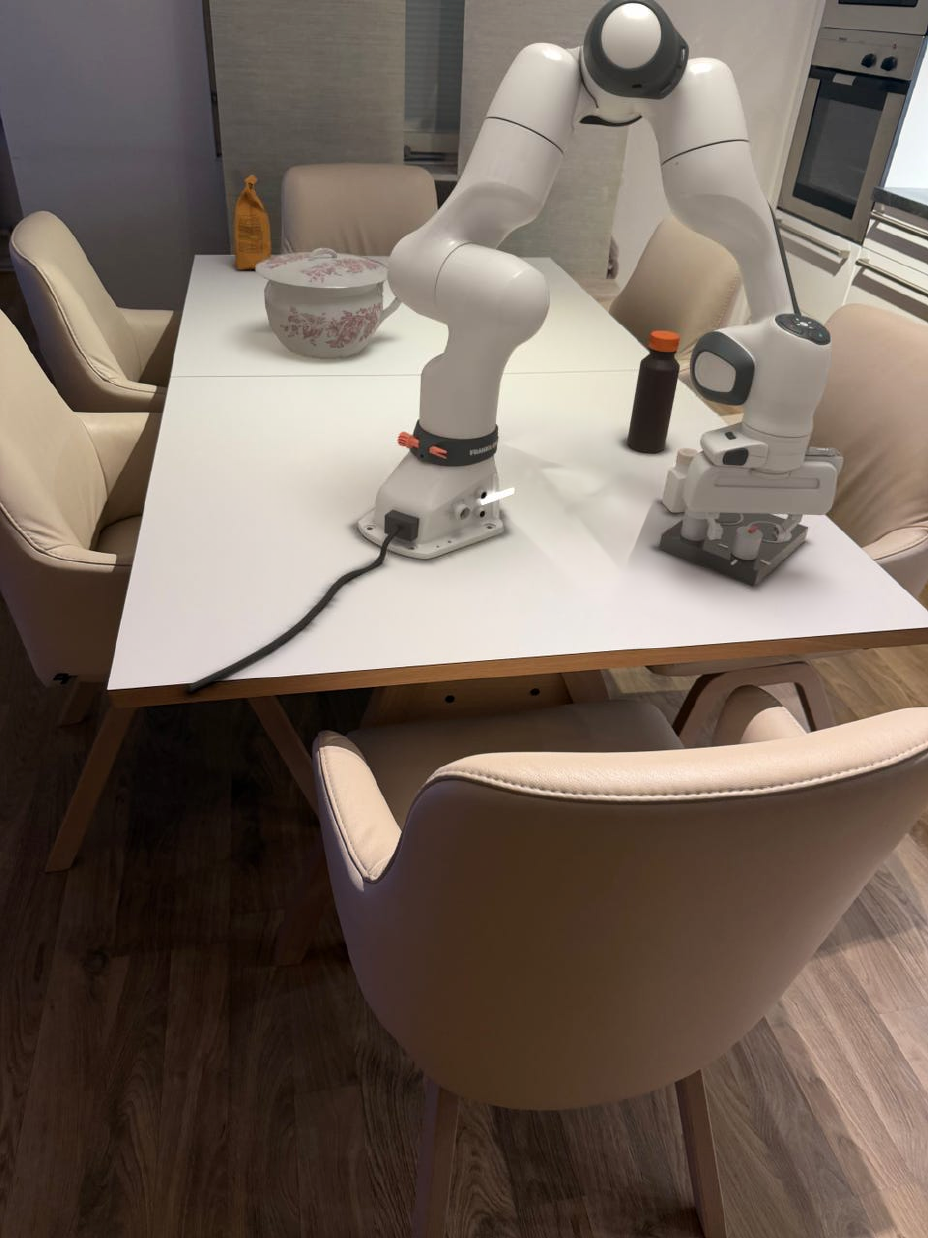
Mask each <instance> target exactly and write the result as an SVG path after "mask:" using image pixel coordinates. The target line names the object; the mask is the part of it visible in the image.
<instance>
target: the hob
mask: <svg viewBox="0 0 928 1238" xmlns="http://www.w3.org/2000/svg"><path fill="white" fill-rule="evenodd" d="M741 514H742V515H743V517H744V519H743V521H742V522H741V523H739V524H736V525H722V524H720V525H721V527H722V528H723V534H722V535H721V536H722V538H721V540H710V539H709V538H708V535H707V533H706V537H705V539H704V540H701V541H693V540H689V539H686V538H684V537H683V536H682V535H681V528H682V524H683V519H684V518H683V519H680V521H678V522H676V523H675V524H673V526H671V527H670V528H668V529H667V530H665V531H663V532H662V533H661V537H660V541H659V545H658V549H659V550H661V551H664V552H667V553H668V554H670V555H675V556H676V557H679V558H681V559H684V560H686V561H689V562H692V563H694V564H696V565H699V566H701V567H704V568H706V569H709V570H712V571H713V572H716V573H719V574H721V575H723V576H726V577H729V578H732V579H733V580H736V581H739V582H742V583H743V584H746V585H748V586H751V587H755V586H757V585H758V584H759V583H760V582H761V581H762V580H763V579H764V578H765V577H766V576H768V575H769V574H770V573H771V572H772V571H773V570H774V569H775V568H777V567H778V566H779V565H780V564H781V563H783V562H784V561H785V560H786V559H787V558H788V557H789V556H790V555H791V554H792V553H794V552H795V551H796V550H797V549H798V548H799V547H800V546H802V544H804V543H805V540H806V537H807V534H808V531H809V527H808V526H806V525H803V524H800V523H799V524H798V525H797V526H796V527H795V528H794V529H792V530H791V531H790V533H791V539H790V540H789V541H787V542H783V543H771V542H765V541H762V540H761V544H760V548H759V552H758V555H757V558H756V559H754V560H742V559H739V558H736V557H735V556H733V555H732V553H731V550H732V546H733V542H734V538H735V534H736V530H737V529H738V528H739V527H743V526H748V525H749V524H751V523H753V522H771V523H775V524H778V525H781V524H782V523H783V522H784V520H785V519H786V518H784V517H780V516H778V515H776V514H758V513H741ZM716 524H717V523H716ZM708 528H709V525H708ZM707 532H708V529H707Z"/></svg>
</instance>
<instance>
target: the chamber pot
mask: <svg viewBox="0 0 928 1238" xmlns="http://www.w3.org/2000/svg"><path fill="white" fill-rule="evenodd" d="M255 267H256V269H255V273H256V274H258V275H259V276H261V278H263V279H265V280H268V281H267V282H266V285H265V286H264V289H263V296H264V298H263V299H264V308H265V312H266V316H267V320H268V323H269V324H268V325H269V326H270V328H271V329H272V331H273V333H274V334H275V336H276V337H277V339H278V340H279V342H280V343H281V344H282V345H283V347H285V348H286V349H287V350H288V351H290V352H292V353H295V354H298V355H300V356H302V357H303V356H304V357H307V358H312V359H319V360H324V359H326V360H331V359H343V358H345V357H350V356H353V355H356V354H358V353H360V352H362V351H363V350H365V348H367V346H368V344H369V343H370V342H371V340H372V338H373V336H374V335H375V334H376V332H377V330H378V328H379V327H380V325H381V324H382V323H384V321H385V320H386V319H387V318H389V317H390V316H391V315H393V313H395V311H397V310H398V309H399V307H400V306H401V305H402V304H403V302H401V301H400V300H399V299H398V298H397V297H396V296H395V297H394V299H393V300H392V302H391V303H390V304H389V305H388V306H387V307H386V308H384V295H383V293H384V283H385V281H387V280H388V278H387V268H388V265H385V264H383V263H382V262H380V261H378V260H374V259H371V258H369V257H365V256H363V255H358V254H353V253H348V252H338V251H335V250H334V249H332V248H328V247H319V248H316V249H314V250H304V251H292V252H285V253H280V254H277V255H271V257H269V258H266V259H263V260H262V261H260V262H259V263H258V264H257V265H256V266H255Z"/></svg>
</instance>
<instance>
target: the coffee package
mask: <svg viewBox="0 0 928 1238" xmlns="http://www.w3.org/2000/svg"><path fill="white" fill-rule="evenodd" d="M243 180H244V183H245V187H244V189H243V190H242V191H241V194H240V195H239V197H238V199H237V202H236V205H235V213H234V220H233V221H234V222H233V248H234V250H233V251H234V262H235V266H236V269H237V270H238V271H245V270H256V267H255V266H256V265H257V264H258V263H259V262H260V261H262V260H263V259H266V258H269V257H272V237H271V225H270V219H269V216H268V213H267V210H266V208H265V206H264V204H263V202H262V201H261V200H260V198H259V196H258V195H257V193H256V190H255V184H256V183H257V182H258V178H257V177H256V176H255V174H250V175H249V176H248V177H246V178H245V179H243Z"/></svg>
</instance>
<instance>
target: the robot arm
mask: <svg viewBox="0 0 928 1238" xmlns="http://www.w3.org/2000/svg"><path fill="white" fill-rule="evenodd" d="M689 57H690V47H689V43H688V42H687V41H686V39H685V38H684V37H683V36H682V35H681V33H680V32H679V31H678V30H677V28H676V27H675V26H674V24H673V22H672V20H671V19H670V17H669V15H668V14H667V12H666V11H665V9H664V8H663V7H662V6H661V5H660V4H659V3H658V2H657V1H655V0H609V1H608V2H606V3H605V4H604V5H603V6H602V7H601V8H600V9H599V10H598V11H597V12H596V13H595V15H594V16H593V17H592V19H591V21H590V23H589V24H588V26H587V28H586V31H585V34H584V39H583V44H582V45H581V46H580V45H578V46H577V47H574V48H564V47H561V46H559V45H557V44H554V43H549V42H536V43H535V42H534V43H531V44H529V45H527V46H525V47H523V49H521V50H520V51H519V52H518V54H517V55H516V57H515V58H514V60H513V61H512V63H511V65H510V66H509V68H508V70H507V72H506V73H505V75H504V77H503V79H502V81H501V83H500V85H499V86H498V88H497V90H496V92H495V95H494V96H493V98H492V100H491V104H490V106H489V108H488V110H487V113H486V115H485V117H484V120H483V123H482V126H481V128H480V130H479V133H478V136H477V139H476V141H475V143H474V146H473V148H472V150H471V153H470V155H469V158H468V160H467V162H466V165H465V168H464V170H463V172H462V173H461V176H460V178H459V180H458V181H457V184H456V185H455V187H454V189H453V190H452V191H451V192H450V194H449V196H448V197H447V198H446V200H445V201H444V202H443V204H442V205H441V206H440V207H439V208H438V210H437V211H436V212H435V213H434V214H433V216H432V217H430V218H429V220H427V221H426V223H424V224H423V225H422V226H420V227H419V228H418V229H416V230H414V231H412V232H410V233H408V234H406V235H405V236H403V237H402V238H401V239H400V240H398V242H397V243H396V244H395V245H394V247H393V249H392V251H391V253H390V255H389V259H388V262H387V267H388V268H387V278H388V279H387V283H388V287H389V288H390V291H391V293H392V294H393V295H394V296H395V298H396V297H397V298H398V299H399V300H400V301H401V302H402V304H404V305H405V306H406V307H408V308H409V309H410V310H411V311H413V312H415V313H416V314H418V315H420V316H422V317H425V318H427V319H430V320H433V321H435V322H438V323H441V324H443V325H446V326H447V331H448V335H447V336H448V337H447V341H446V345H445V348H444V350H443V352H442V353H440V354H437V355H436V356H434V357H432V358H431V359H430V360H429V361H427V363H426V364H425V365H423V368H422V370H421V373H420V384H419V385H420V386H419V387H420V389H419V392H420V393H419V412H418V419H417V421H415V422H416V423H415V426H414V428H413V432H412V434H410V433H408V432H406V431H401V432H400V433H398V435H399V436H397V440H396V441H397V444H398V445H399V446H401V447H406V449H408V452H407V453H406V455H405V456H404V457H403V458H402V460H400V462H399V463H398V464H397V465H396V467H395V468H394V469H393V471H392V472H391V473H390V474H389V475H388V476H387V478H386V479H385V481H383V483H382V484H381V485H380V486H379V488H378V490H377V492H376V497H375V504H374V509H373V510H371V511H370V512H368V513H367V514H366V515H364V516H363V517H361V518H360V519H359V520H358V521H357V529H358V531H359V532H360V534H361V535H363V536H364V537H365V538H366V539H367V540H368V541H370V542H372V543H374V544H375V545H378V546H380V551H379V555H378V557H377V558H376V559H375V560H374V561H373V562H372V563H370V565H367V566H365V567H363V568H359V569H356V570H352V571H349V572H347V573H346V574H344V575H342V576H341V577H339V578H338V579H337V580H336V581H335V582H334V583H333V584H332V585H331V586H330V588H329V589H328V590H327V591H326V593H325V594H324V596H323V597H322V598H321V599H320V600H319V601H318V602H317V603H316V604H315V605H314V607H312V609H311V610H309V611H308V613H306V615H304V616H303V617H302V618H301V619H300V620H299V621H298V622H297V623H295V624H294V625H293V626H292V627H290V628H289V629H288V630H287V631H286V632H284V633H283V634H282V635H280V636H279V637H277V638H275V639H274V640H272V641H271V642H270V643H268V644H266V645H265V646H263V647H261V648H259V649H258V650H256V651H254V652H252V653H251V654H249V655H246V656H245V657H244V658H242V659H240V660H238V661H235V662H234V663H232V664H230V665H228V666H226V667H224V668H222V669H219V670H217V671H215V672H213V673H211V674H209V675H207V676H205V677H202V678H200V679H198V680H197V681H194V682H192V683H190V684H188V685H187V689H188V691H189V692H194V691H196V690H198V689H200V688H203V687H204V686H206V685H208V684H211V683H213V682H215V681H216V680H219V679H221V678H223V677H225V676H227V675H229V674H231V673H233V672H235V671H238V670H239V669H241V668H243V667H245V666H246V665H248V664H250V663H252V662H254V661H256V660H257V659H259V658H261V657H263V656H264V655H266V654H268V653H270V652H272V651H273V650H274V649H276V648H277V647H279V646H280V645H282V644H283V643H285V642H286V641H288V640H289V639H291V637H293V636H294V635H296V633H298V632H299V631H301V629H302V628H304V627H305V626H306V625H307V624H308V623H309V622H310V621H311V620H312V619H313V618H314V617H315V616H316V615H317V614H318V613H319V612H320V611H321V610H322V609H323V608H324V607H325V605H326V604H327V603H328V602H329V601H330V599H331V598H332V597H333V595H334V594H335V593H336V592H337V590H338V589H339V588H341V586H342V585H343V584H345V583H346V582H347V581H349V580H351V579H352V578H355V577H359V576H362V575H364V574H366V573H369V572H370V571H372V570H374V569H376V568H378V567H379V566H380V565H381V564H382V563H383V562H384V560H385V558H386V555H387V550H388V551H390V552H393V553H396V554H398V555H402V556H406V557H408V558H412V559H413V558H415V559H419V560H431V559H434V558H436V557H439V556H442V555H446V554H447V553H450V552H453V551H457V550H459V549H461V548H465V547H468V546H470V545H473V544H476V543H479V542H481V541H484V540H486V539H489V538H492V537H495V536H497V535H501V534H503V533H504V523H503V521H502V519H501V518H500V499H502V498H505V497H507V496H511V495H513V494H514V493H515V488H514V487H510V488H508V489H505V490H502V491H500V479H499V474H498V470H497V466H496V460H495V455H496V453H497V451H498V443H499V439H500V438H499V425H498V424H497V416H498V415H497V414H498V406H499V397H500V389H501V383H502V380H503V379H502V378H503V375H504V371H505V370H506V369H505V368H506V366H507V364H508V362H509V360H510V358H511V356H512V355H513V353H514V352H515V351H516V349H518V348H519V347H520V346H521V345H523V344H525V343H526V342H528V341H529V340H531V339H532V338H533V337H534V336H535V335H536V334H538V332H539V331H540V329H541V328H542V327H543V325H544V323H545V321H546V320H547V317H548V314H549V310H550V303H551V293H550V286H549V283H548V280H547V278H546V277H545V276H544V274H543V273H542V272H541V271H540V270H538V269H537V268H536V267H534V266H533V265H531V264H530V263H528V262H527V261H525V260H523V259H522V258H520V257H518V256H517V255H514V254H512V253H509V252H505V251H502V250H499V249H497V248H498V247H499V246H500V245H501V243H502V242H503V241H504V240H505V239H506V237H508V236H509V235H510V234H511V233H512V232H514V231H515V230H517V229H518V228H521V227H523V226H525V225H527V224H530V223H531V222H533V221H534V220H536V219H537V217H538V216H540V214H541V212H542V210H543V208H544V206H545V204H546V201H547V199H548V196H549V194H550V191H551V189H552V187H553V183H554V181H555V179H556V177H557V174H558V171H559V169H560V166H561V164H562V162H563V159H564V156H565V154H566V152H567V149H568V146H569V144H570V141H571V138H572V136H573V134H574V132H575V130H576V129H577V126H578V124H582V125H594V126H603V127H608V128H622V127H627V126H630V125H633V124H635V123H637V122H638V121H640V120H641V119H642V118H643V119H644V120H646V122H647V123H648V124H649V126H650V127H651V129H652V131H653V134H654V136H655V140H656V142H657V149H658V158H659V165H660V173H661V180H662V186H663V191H664V192H663V193H664V196H665V199H666V202H667V205H668V208H669V210H670V212H671V214H672V215H673V217H674V218H675V219H676V220H677V221H678V223H680V224H681V225H682V226H684V227H685V228H687V229H688V230H689V231H692V232H694V233H696V234H699V235H701V236H703V237H706V238H708V239H710V240H711V241H713V242H715V243H717V244H718V245H720V246H721V247H722V248H724V249H725V250H726V251H727V252H728V253H729V254H730V255H731V256H732V257H733V259H734V261H735V262H736V264H737V267H738V270H739V274H740V277H741V281H742V285H743V289H744V293H745V297H746V302H747V306H748V309H749V313H750V318H751V321H750V323H749V324H740V325H732V326H727V327H721V328H717V329H715V330H712V331H711V330H710V331H708V332H706V333H704V334H703V335H702V336H701V337H700V338H699V339H698V340H697V342H696V343H695V345H694V347H693V349H692V352H691V355H690V359H689V376H690V379H691V382H692V385H693V387H694V388H695V390H696V391H697V393H698V394H699V395H700V396H701V397H702V398H704V399H705V400H707V401H709V402H712V403H716V404H720V405H725V406H732V407H737V406H738V407H740V408H741V409H742V410H743V414H742V419H741V421H739V422H736V423H733V424H730V425H726V426H723V427H720V428H716V429H712V430H708V431H705V432H703V433H702V435H701V436H700V440H699V445H700V447H701V449H702V450H701V451H698V454H696V455H695V457H694V458H693V460H692V462H691V464H690V466H689V469H688V472H687V475H686V478H685V482H684V485H683V490H682V498H683V501H684V502H685V504H686V505H687V507H688V508H689V509H690V510H691V511H692V512H704V513H705V515H706V518H707V520H708V523H709V528H708V532H707V535H708V538H709V539H710V540H721V538H722V536H721V535H722V534H723V528H722V527H721V525H720V524H716V522H715V520H714V518H715V519H718V518H719V515H720V513H758V514H772V515H787V517H786V518H784V519H785V520H784V522H783V523H782V524H781V525H775V527H774V532H773V538H774V539H775V541H787V539H788V536H789V532H790V531H791V530H792V529H794V528H795V527H796V526H797V525H798V524H800V523H801V522H802V519H803V516H825V515H826V514H827V513H828V512H829V511H830V510H832V507H833V504H834V502H835V501H834V500H835V496H836V490H837V483H838V476H839V475H840V473H841V471H842V467H843V464H844V456H843V454H842V453H841V452H840V451H838V450H837V448H835V447H833V446H826V447H818V446H809V443H810V439H811V438H812V437H811V436H812V433H813V430H814V416H815V415H814V414H815V412H816V409H817V407H818V406H819V404H820V403H821V401H822V398H823V396H824V392H825V388H826V385H827V382H828V381H827V380H828V377H829V373H830V368H831V362H832V355H833V339H832V334H831V333H830V331H829V330H828V329H827V328H826V326H825V325H824V324H822V323H821V322H819V321H817V320H816V319H814V318H811V317H809V316H805V315H802V312H801V310H800V307H799V303H798V300H797V296H796V292H795V288H794V284H793V279H792V276H791V272H790V271H791V270H790V266H789V262H788V258H787V254H786V251H785V246H784V242H783V238H782V235H781V230H780V227H779V224H778V220H777V217H776V215H775V212H774V210H773V208H772V206H771V205H770V203H769V201H768V200H767V198H766V197H765V194H764V193H763V190H762V188H761V185H760V182H759V179H758V176H757V173H756V170H755V169H756V168H755V165H754V161H753V157H752V151H751V145H750V138H749V131H748V126H747V121H746V120H747V119H746V115H745V111H744V107H743V103H742V99H741V96H740V92H739V90H738V89H739V88H738V86H737V83H736V80H735V78H734V75H733V72H732V70H731V69H730V67H729V66H728V65H727V63H725V62H723V61H722V60H720V59H718V58H713V57H707V56H706V57H704V56H703V57H702V56H701V57H696V58H695V57H694V58H690V59H689Z"/></svg>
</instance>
